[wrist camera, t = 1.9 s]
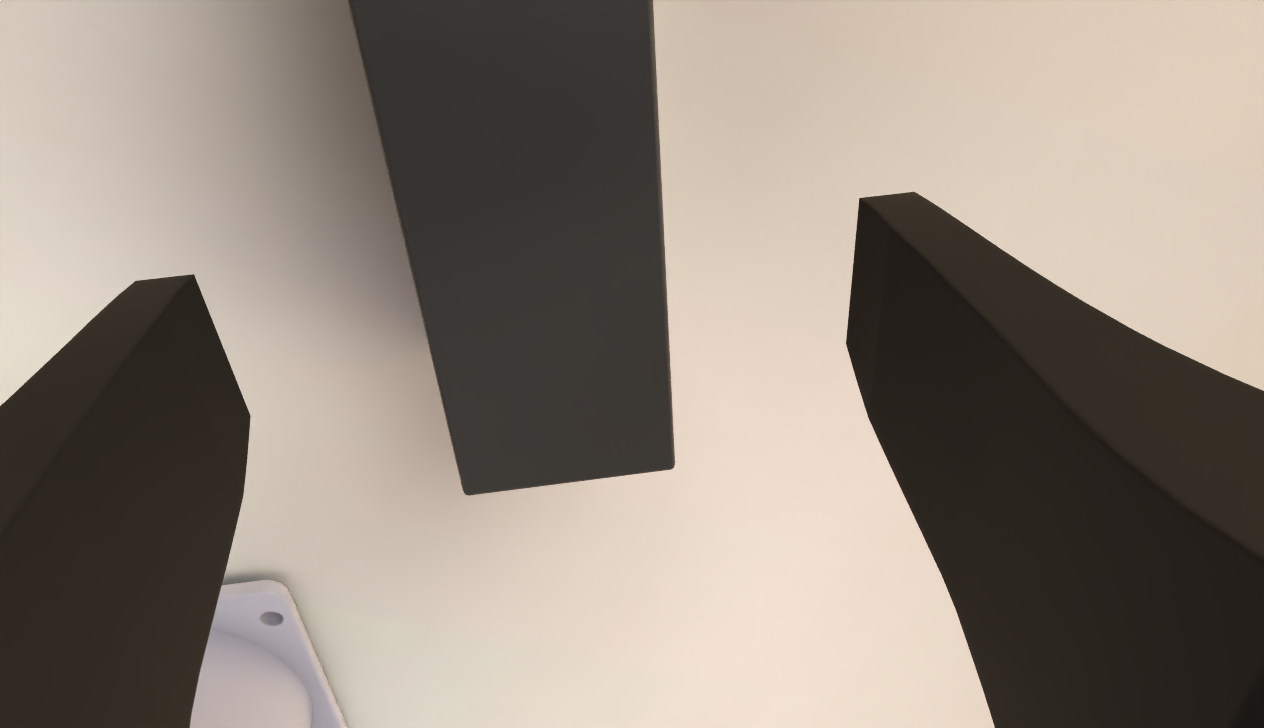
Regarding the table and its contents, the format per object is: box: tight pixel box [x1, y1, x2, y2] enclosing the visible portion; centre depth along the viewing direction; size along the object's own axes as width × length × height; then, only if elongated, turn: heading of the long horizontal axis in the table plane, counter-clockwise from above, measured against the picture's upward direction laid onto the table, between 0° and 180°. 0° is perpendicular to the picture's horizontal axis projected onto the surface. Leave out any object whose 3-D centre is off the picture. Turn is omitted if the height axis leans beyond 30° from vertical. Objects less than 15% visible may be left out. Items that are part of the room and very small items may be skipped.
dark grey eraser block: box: [348, 0, 675, 495], centre depth 15 cm, size 12×4×5 cm, turn 3°
